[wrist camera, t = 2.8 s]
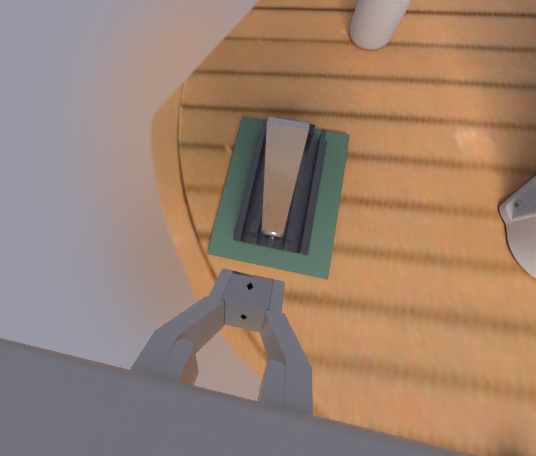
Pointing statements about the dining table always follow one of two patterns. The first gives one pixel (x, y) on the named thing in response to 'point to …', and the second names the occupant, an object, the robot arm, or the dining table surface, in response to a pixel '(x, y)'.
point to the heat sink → (301, 203)
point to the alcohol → (376, 22)
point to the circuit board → (323, 219)
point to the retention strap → (281, 171)
